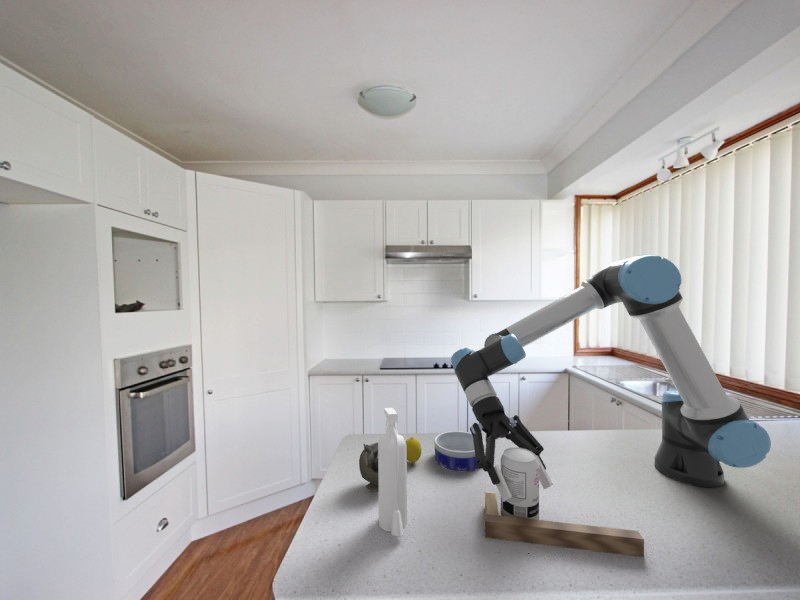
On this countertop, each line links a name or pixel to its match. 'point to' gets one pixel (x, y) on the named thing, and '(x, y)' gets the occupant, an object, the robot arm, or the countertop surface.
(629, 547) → the walnut fence
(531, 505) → the supplement can
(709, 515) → the countertop surface
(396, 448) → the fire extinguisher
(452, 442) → the dog bowl
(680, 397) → the robot arm
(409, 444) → the lemon
